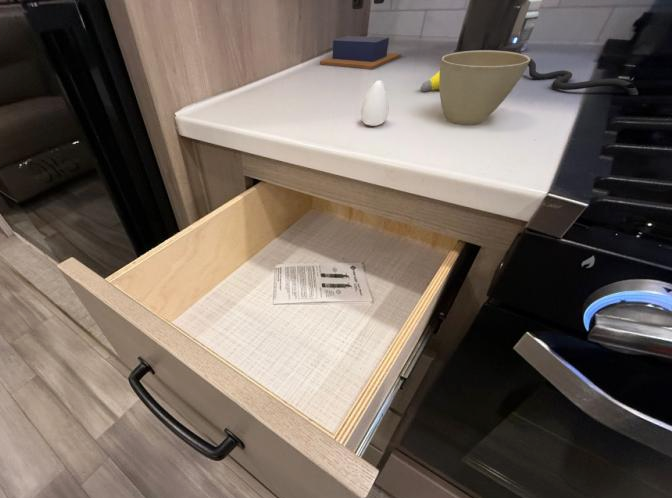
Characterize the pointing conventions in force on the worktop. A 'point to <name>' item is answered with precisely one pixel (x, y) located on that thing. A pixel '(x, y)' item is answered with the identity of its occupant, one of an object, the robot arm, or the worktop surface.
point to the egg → (375, 105)
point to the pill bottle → (529, 23)
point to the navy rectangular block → (360, 48)
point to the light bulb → (431, 83)
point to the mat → (360, 62)
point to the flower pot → (477, 83)
